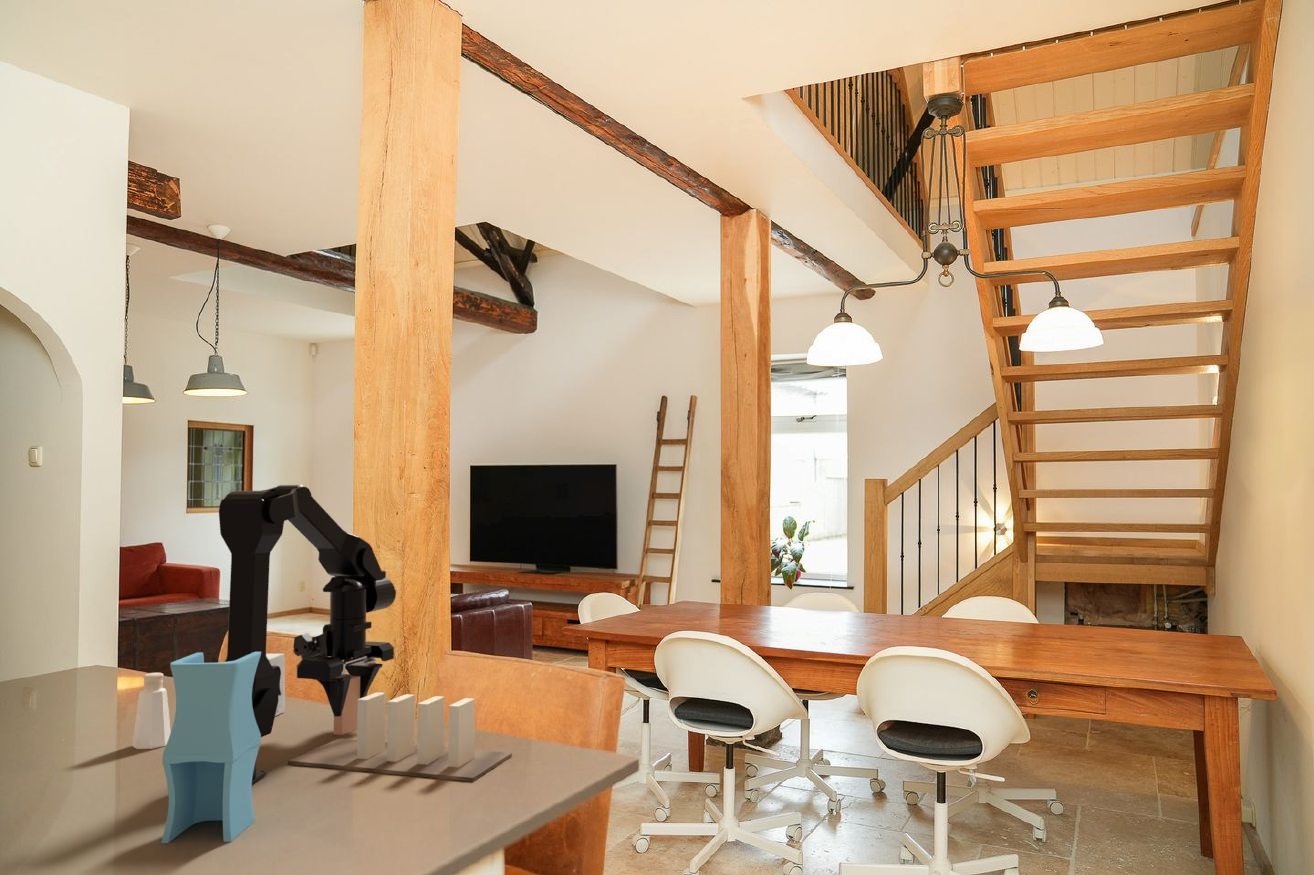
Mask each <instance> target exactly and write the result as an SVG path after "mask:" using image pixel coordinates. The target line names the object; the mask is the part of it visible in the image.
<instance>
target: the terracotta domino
mask: <svg viewBox="0 0 1314 875" xmlns="http://www.w3.org/2000/svg"><path fill="white" fill-rule="evenodd" d="M358 699H360V676H351V680H350V684H349V688H348V692H347V696H346V700H345V704H344V708H343V711H342V714H341V716H339V717H338V716H334V715H333V735H335V736H344V735H346V734H349V733H351V732H353V731H356V730H357V721H358Z"/></svg>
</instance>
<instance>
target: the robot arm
mask: <svg viewBox="0 0 1314 875" xmlns="http://www.w3.org/2000/svg"><path fill="white" fill-rule="evenodd" d="M218 516H219V517H218V518H219V530H220V532H219V534H220V535H221V538H222V539H223V541H224V544H225V546H226V547H227V549H228V551H229V552H230V558H231V560H230V576H229V577H230V579H229V580H230V581H229V602H228V604H229V605H228V606H229V607H228V626H227V628H228V629H227V645H226V646H227V649H226V650H227V652H226V659H225V660H224V662H228V661H235V660H237V659H240V658H242V657H244V656H246V655H249V654H251V653H253V652H261V656H260V659H259V662H258V665H257V669H256V672H255V676H254V681H253V687H252V707H253V712H254V717H255V720H256V723H257V726H258V728H259V731H260V734H261V738H263V737H265V736H268V735H270V734H271V733H272V730H273V727H274V722H275V719H276V718H275V717H276V716H275V714H276V710H277V705H278V695H279V696H280V695H281V691H280V677H281V670H280V667H279V666H271V664H270V662H269V660H268V658H267V657H266V654H267V635H268V634H267V633H268V613H269V612H268V610H269V609H268V608H269V607H268V606H269V587H270V586H269V582H270V560H271V559H270V557H271V552H272V551H273V549H274V548H275V546H276V544H277V543H278V542H279V540H280V539H281V537H282V536H283V533H284V525H285V521H288V522H289V523H291V525H292V526H294V528H295V529H297V531H298V532H300V534H302V535H303V537H305V538H306V540H307V541H308V542H310V544H311V545H313V547H314V548H316V550H317V551H318V562H319V563H320V565H321V566H322V568H323V569H324V571H325V572H326V573H327V575H329V576H332V577H331V579H330V580H329V582H328V583H326V584H325V585H324V586H323V587H322V592H324V593H330V594H329V595H330V596H329V601H330V602H329V623H325V624H323V625H324V626H323V627H322V634H319V635H316V636H311V635H310V634H309V633H304V634H300V635H297V636H294V637H293V638H294V639H293V645H292V646H293V654H294V655H295V656H297V657H301V658H300V659H301V660H300V661H299V662H298V663H297V665H296V679H303V680H304V679H306V680H308V679H309V680H313V681H315V680H316V681H317V682H318V683H319V684H320V685H321V686H322V687H323V689H324V691H325V694H326V697H327V699H328V703H329V706H330V709H331V711H332V714H333V717H334V716H338V717H339V716H341V714H342V711H343V708H344V704H345V700H346V696H347V692H348V688H349V684H350V680H351V676H360V698H363V697H366V696H367V694H368V692H369V690H370V688H371V687H372V686H371V685H372V684H373V682H374V680H375V678H376V677H377V674H378V672H379V670H380V669H381V668H382V667H383V663H376V661H377V660H376V659H380V660H381V661H382V662H387V661H391V660H393V659H394V658H395V657H394V656H395V653H394V652H395V650H394V649H395V648H394V646H393V645H392V644H391V643H390V641H389V642H386V641H367V630H368V629H372V621H367V613H372V612H377V611H380V610H384V609H387V608H389V607H390V606H392V605H393V603H395V602H394V601H395V599H396V597H397V596H396V595H397V591H396V588H395V586H394V583H393V582H392V581H391V579H389V578H387V573H386V571H385V570H382V568H381V566H380V564H379V562H378V559H377V556H376V555H375V552H374V550H373V547H372V546H371V544H370V543H369V542H368V541H366V540H365V539H363V538H361V537H360V536H357V535H355V534H352V533H350V532H347V531H346V530H344V529H343V528H342V527H341V526H340V525H339V524H338V523H337V522H336V520H334V519H333V518H332V517H331V515H330V514H329V513H328V512H327V511H326V510H325V509H324V508H323V507H322V505H320V504H319V503H318V501H317V500H316V499H315V498H314V497H313V496H312V493H311V490H310V488H308V487H307V486H304V485H303V484H292V485H291V484H283V485H282V484H281V485H277V486H274V487H271V488H268V489H262V490H234V491H233V490H232V491H231V492H229V493H227V495H225V497H224V498H222V499H221V500H220V503H219V508H218ZM346 672H347V674H346ZM266 775H267V770H264V769H261V770H259V769H258V770H257V760H256V761H255V765H254V770H253V776H252V785H253V784H255V783H256V782H257V781H258V780H260V779H261V778H263V777H264V776H266Z"/></svg>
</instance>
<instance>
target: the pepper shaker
mask: <svg viewBox="0 0 1314 875" xmlns="http://www.w3.org/2000/svg"><path fill="white" fill-rule="evenodd" d="M142 678H143V685H144V686H143V689H142V690H140V691H139V694H138V698H137V699H138V700H137V708H136V715H135V721H134V723H135V724H134V729H133V737H132V743H131V747H132V748H134V749H136V750H152V749H157V748H162V747H166V744H167V742H168V739H169V736H170V733H171V730H172V729H171V721H170V711H169V700H168V692H167V689H166V688H165V687H163V683H164V680H163V678H164V673H162V672H149V673H146V674H144V675H143V676H142Z"/></svg>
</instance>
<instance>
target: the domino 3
mask: <svg viewBox="0 0 1314 875" xmlns="http://www.w3.org/2000/svg"><path fill="white" fill-rule="evenodd" d="M445 699H446V697H445V696H439V695H437V696H436V695H435V696H432V697H430V698H428V699H425V700H423V701H421V702H418V703H417V745H418V746H417V764H426V765H428V764H429V763H431V762H433V761H435V760H436V759H438V758H440V757H442V756H444V747H445V738H446V737H445V736H446V734H445V727H446V726H445V723H446V722H445V720H446V716H445V715H446V714H445V713H446V712H445V708H446V707H445V704H446V701H445Z"/></svg>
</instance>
